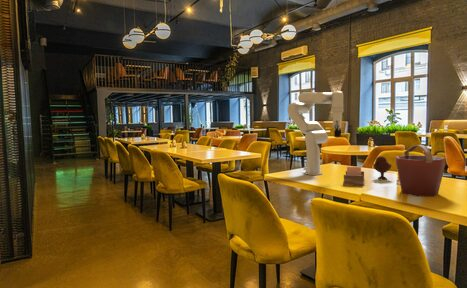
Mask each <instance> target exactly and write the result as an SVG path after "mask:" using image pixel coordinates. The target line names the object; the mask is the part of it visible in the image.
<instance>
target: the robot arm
mask: <svg viewBox="0 0 467 288" xmlns="http://www.w3.org/2000/svg"><path fill="white" fill-rule="evenodd" d="M297 97H298V98H297V100H298V101H296V102H291V103H290V104H288V106H287V114H288V117H289V118H290V120H291V121H293V123H294V124H295V126H296V127H297V128H298V130H299V131H300V132H301V133H302V134H304V141H305V146H306V147H305V148H306V167H304V168H303V171H305V172H304V174H305V175H307V174H308V175H309V176H320V175H323V172H322V171H321V149H320V147H319V145H318V144H325V143H327V142H328V140H329V134H328V133H327V131H326V130H325V129H324V127H323V126H322V125H321V124H320V123H319V122H318V121H309V120H308V119H306V117H305V116H304V115H303V114H307V113H308V112H310V110H312V108H313V107H314V105H315V104H316V105H318V104H319V105H321V104H322V105H323V104H324V105H326V104H327V105H330V104H331V114H332V128H333V129H334V131H333V133H334V135H333V137H335V138H338V137H341V136H342V129H341V128H342V124H343V122H342V119H343V113H344V93H343V91H334V92H316V91H310V92H309V91H303V92H301V93H299V95H298V96H297Z"/></svg>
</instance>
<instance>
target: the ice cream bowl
mask: <svg viewBox="0 0 467 288" xmlns="http://www.w3.org/2000/svg"><path fill="white" fill-rule="evenodd" d="M373 168H374V170H375V171H377V172H378V173H380V176H378V177H377V180H387V179H388V178H387V177H386V176H385V173H387V172H388V171H389V170H391V168H392V163H391V164H390V163H389V162H388V160H387V158H386V157H385V156H382V155H379V156H377V157H376V158H375V162H374V163H373Z"/></svg>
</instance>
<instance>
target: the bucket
mask: <svg viewBox="0 0 467 288" xmlns="http://www.w3.org/2000/svg"><path fill="white" fill-rule="evenodd" d="M417 148H420V149H421V150H422V152H424V153H423V154H424V155H415V154H414V155H413V154H412V155H411V154H410V153H411V152H413V151H415V150H416V149H417ZM395 164H396V170H397V175H398V180H399V185H400V190H401V193H402V194H403V195H408V196H413V197H435V196H436V195H439V192H440V187H441V184H442V183H441V182H442V180H443V175H444V172H445V167H446V157H441V156H436V155H435V156H434V155H433V154H432V151H431V150H430V149H429V148H428V146H426V145H424V144H415V145H411V146H410V147H408V148H407V149H406V150H405V151H404V152H403V155H400V156H399V155H396V156H395Z"/></svg>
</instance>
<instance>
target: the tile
mask: <svg viewBox="0 0 467 288" xmlns="http://www.w3.org/2000/svg"><path fill="white" fill-rule="evenodd" d="M346 171H347V175H361V171H362V166H350V165H348V166H346Z"/></svg>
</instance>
